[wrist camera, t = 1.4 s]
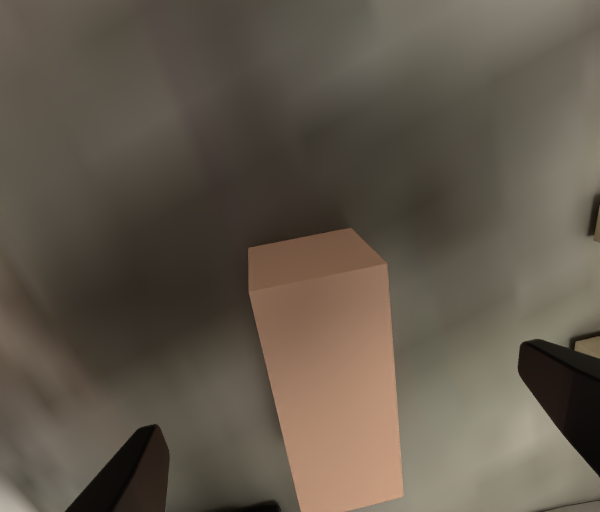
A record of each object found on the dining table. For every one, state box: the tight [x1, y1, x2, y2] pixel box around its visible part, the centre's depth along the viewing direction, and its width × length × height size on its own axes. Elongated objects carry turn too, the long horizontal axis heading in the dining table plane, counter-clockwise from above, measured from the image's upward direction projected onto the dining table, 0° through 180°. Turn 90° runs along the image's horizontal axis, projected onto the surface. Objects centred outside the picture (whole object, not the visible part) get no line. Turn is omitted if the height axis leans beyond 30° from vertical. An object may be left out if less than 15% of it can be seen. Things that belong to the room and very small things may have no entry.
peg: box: [248, 228, 404, 512], centre depth 13 cm, size 4×10×4 cm, turn 9°
